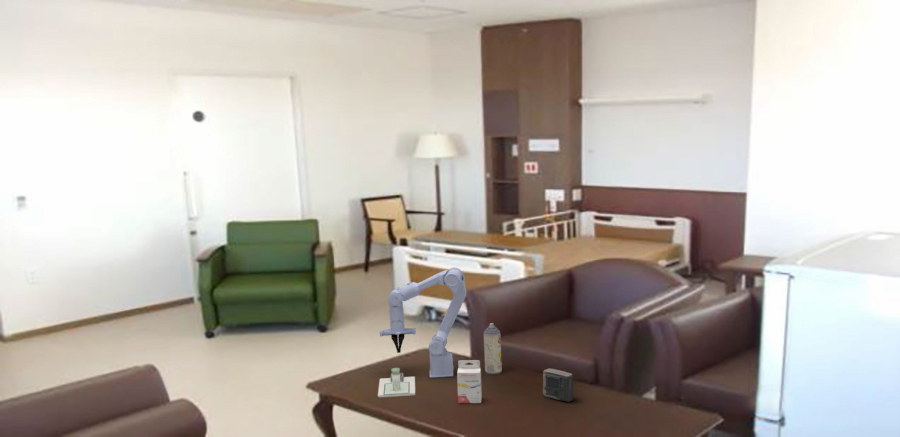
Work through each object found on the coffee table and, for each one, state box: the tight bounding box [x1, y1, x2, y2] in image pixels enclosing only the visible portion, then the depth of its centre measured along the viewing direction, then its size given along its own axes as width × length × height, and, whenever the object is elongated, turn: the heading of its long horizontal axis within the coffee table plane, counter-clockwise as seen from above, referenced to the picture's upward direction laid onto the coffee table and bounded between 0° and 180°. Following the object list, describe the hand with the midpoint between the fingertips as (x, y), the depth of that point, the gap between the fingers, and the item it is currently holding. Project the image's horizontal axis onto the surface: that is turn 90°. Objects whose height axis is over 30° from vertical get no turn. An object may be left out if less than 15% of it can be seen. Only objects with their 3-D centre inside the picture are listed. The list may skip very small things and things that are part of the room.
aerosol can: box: [483, 322, 503, 375], centre depth 289 cm, size 7×7×20 cm
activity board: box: [377, 372, 416, 398], centre depth 277 cm, size 14×18×3 cm
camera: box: [542, 368, 574, 403], centre depth 259 cm, size 11×6×10 cm, turn 47°
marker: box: [390, 367, 401, 391], centre depth 273 cm, size 3×3×8 cm
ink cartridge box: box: [456, 359, 483, 404], centre depth 260 cm, size 9×5×15 cm, turn 84°
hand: (398, 351), depth 291 cm, fingers closed
